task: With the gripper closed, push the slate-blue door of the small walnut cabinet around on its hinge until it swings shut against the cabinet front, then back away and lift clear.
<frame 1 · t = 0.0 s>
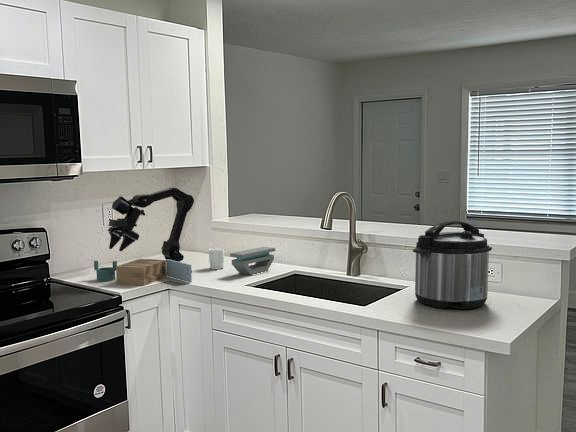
hand: (114, 249, 264), 15 cm above the countertop, tool tilted 35°, fingers open, 9 cm apart
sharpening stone: (253, 272, 286), on the countertop
pressure cooker: (449, 302, 226), on the countertop
walnut cabinet: (142, 280, 270), on the countertop
white cup: (216, 268, 297), on the countertop
cabinet door: (179, 270, 269), point 4 cm above the countertop, hinge at 60.0°
bracket: (106, 279, 272), on the countertop
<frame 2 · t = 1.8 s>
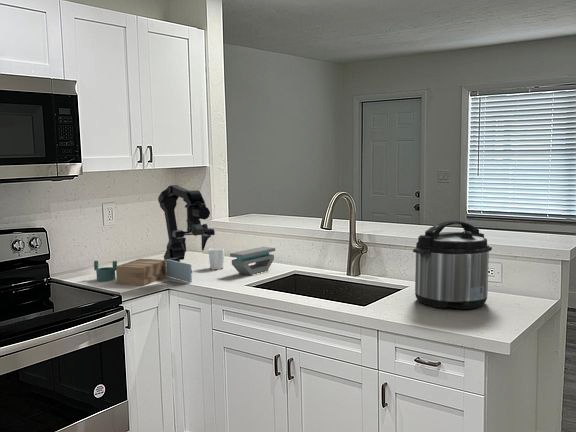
hand: (194, 251, 270), 13 cm above the countertop, tool pointing down, fingers open, 8 cm apart
nothing on the countertop moved.
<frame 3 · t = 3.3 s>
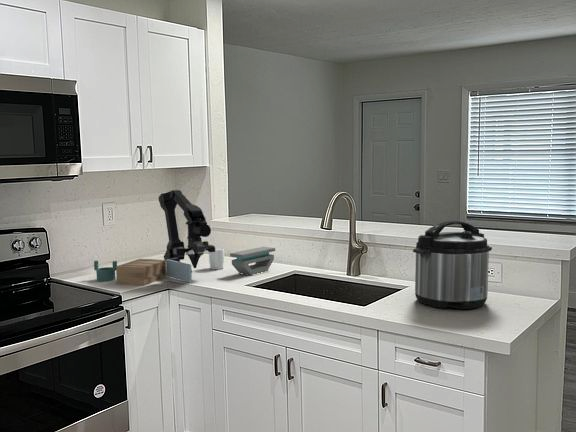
hand: (194, 268, 271), 5 cm above the countertop, tool pointing down, fingers closed
nothing on the countertop moved.
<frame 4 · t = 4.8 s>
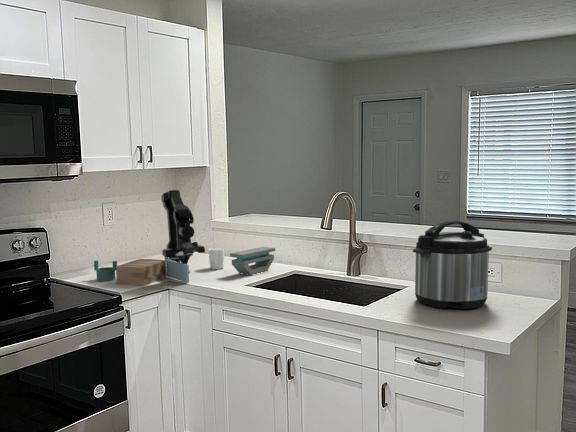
hand: (184, 269, 268), 5 cm above the countertop, tool pointing down, fingers closed
cabinet door: (177, 270, 269), point 4 cm above the countertop, hinge at 55.9°, touching gripper
everything else where it was.
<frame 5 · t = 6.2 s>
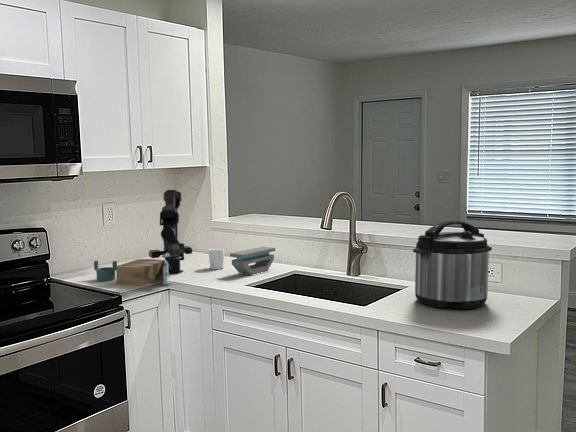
hand: (171, 270, 265), 5 cm above the countertop, tool pointing down, fingers closed
cabinet door: (166, 271, 267), point 4 cm above the countertop, hinge at 24.6°, touching gripper
everything else where it was.
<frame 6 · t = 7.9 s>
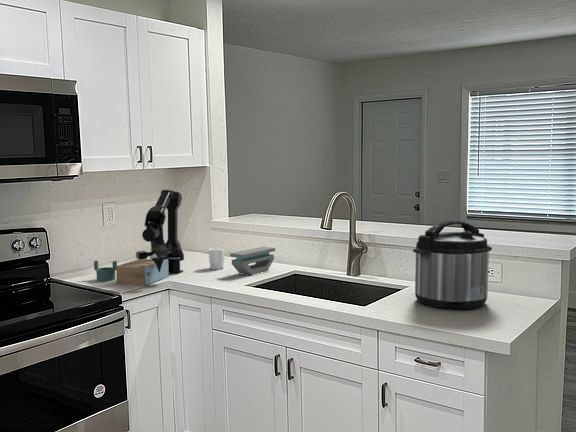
hand: (159, 271, 263), 5 cm above the countertop, tool pointing down, fingers closed
cabinet door: (157, 271, 267), point 4 cm above the countertop, hinge at -0.4°, touching gripper
everything else where it was.
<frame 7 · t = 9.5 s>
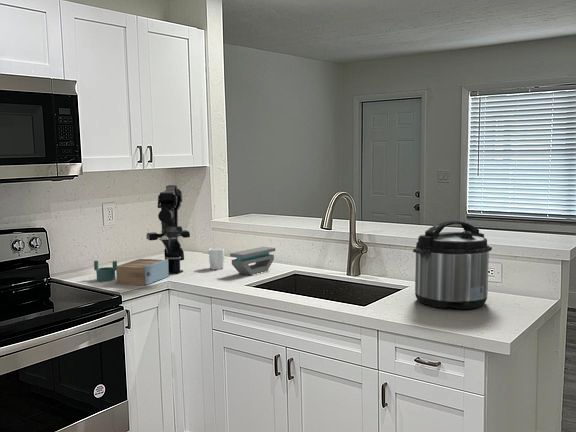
hand: (168, 253, 265), 13 cm above the countertop, tool pointing down, fingers closed
cabinet door: (157, 271, 267), point 4 cm above the countertop, hinge at -0.5°
everything else where it was.
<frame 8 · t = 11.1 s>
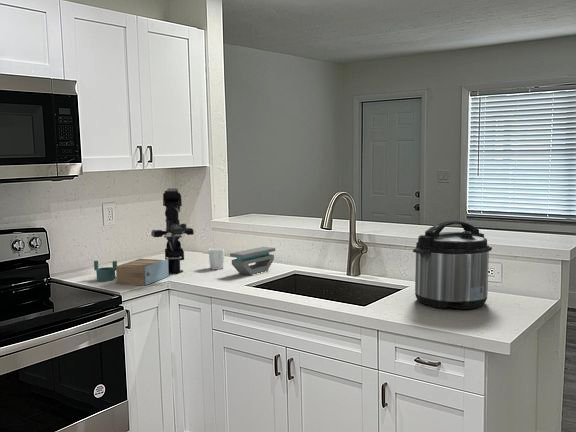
hand: (173, 250, 272), 13 cm above the countertop, tool pointing down, fingers closed
nothing on the countertop moved.
at the end: cabinet door at +0° (first picture: +60°); bracket moved 0.3 cm from its start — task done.
